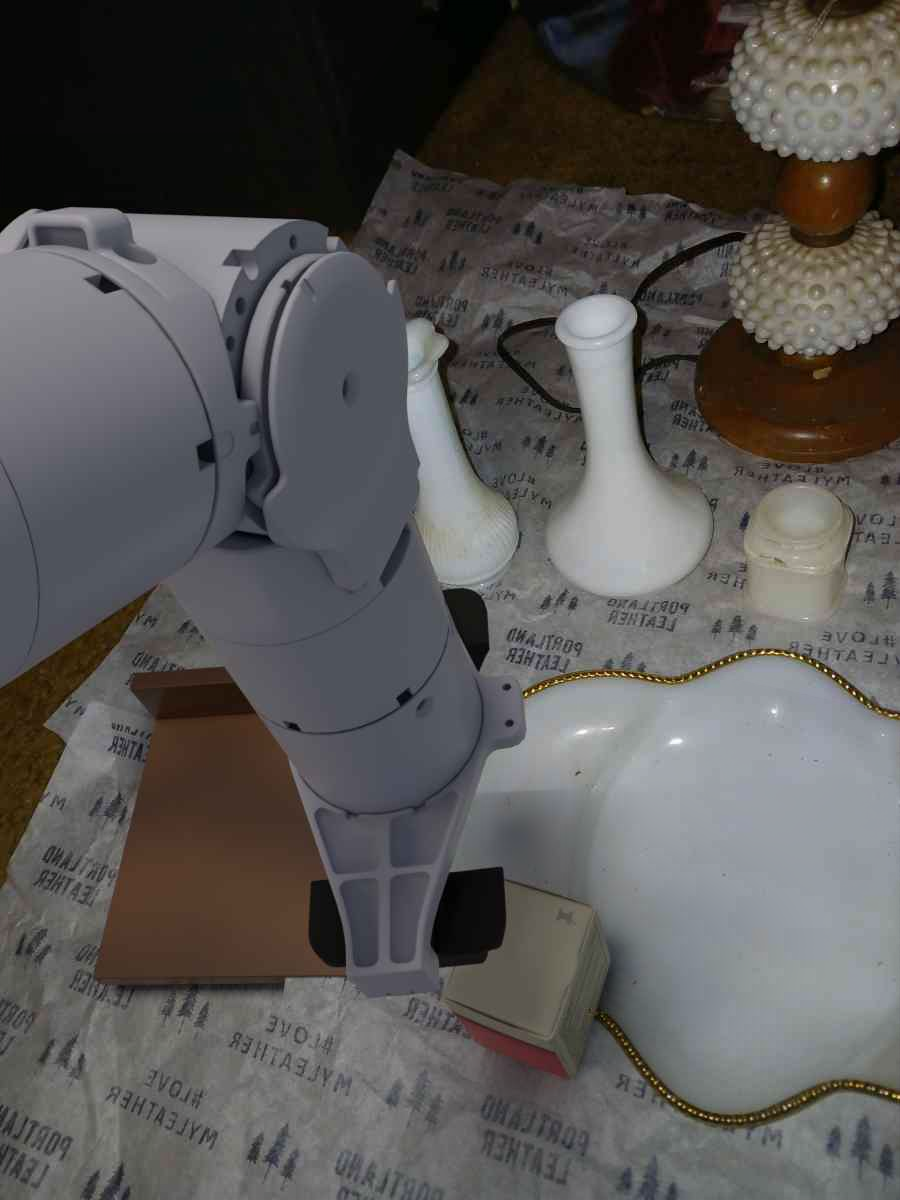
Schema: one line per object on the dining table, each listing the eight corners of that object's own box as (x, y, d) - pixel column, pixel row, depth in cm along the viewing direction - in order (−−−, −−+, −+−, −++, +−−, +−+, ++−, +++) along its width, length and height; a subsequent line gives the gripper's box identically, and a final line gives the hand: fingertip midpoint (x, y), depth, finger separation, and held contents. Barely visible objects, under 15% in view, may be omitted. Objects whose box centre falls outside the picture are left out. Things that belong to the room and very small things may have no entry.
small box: (522, 938, 46) (488, 867, 40) (618, 971, 44) (598, 902, 38) (479, 1055, 44) (435, 999, 37) (579, 1094, 42) (551, 1043, 36)
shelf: (365, 989, 46) (330, 952, 42) (112, 991, 49) (57, 956, 45) (392, 708, 54) (365, 654, 50) (175, 722, 57) (133, 672, 53)
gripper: (512, 891, 23) (585, 1052, 33) (480, 415, 31) (546, 663, 42) (198, 925, 24) (367, 1070, 34) (252, 456, 32) (373, 688, 43)
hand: (452, 848), depth 38 cm, fingers open, 7 cm apart
